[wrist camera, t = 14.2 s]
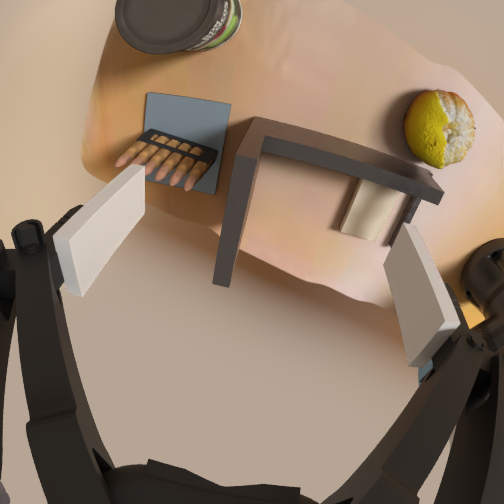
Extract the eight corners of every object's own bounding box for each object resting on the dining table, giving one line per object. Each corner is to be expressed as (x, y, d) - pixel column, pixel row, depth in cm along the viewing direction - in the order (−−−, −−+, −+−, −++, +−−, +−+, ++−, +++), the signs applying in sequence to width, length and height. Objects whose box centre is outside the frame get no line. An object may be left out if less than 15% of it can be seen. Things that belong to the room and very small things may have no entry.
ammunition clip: (147, 139, 43) (107, 171, 34) (150, 127, 42) (109, 157, 32) (214, 161, 44) (191, 200, 35) (218, 150, 43) (195, 186, 34)
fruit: (450, 172, 40) (460, 190, 34) (392, 139, 42) (392, 151, 36) (480, 110, 33) (496, 117, 27) (419, 74, 35) (425, 74, 29)
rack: (429, 170, 41) (476, 228, 28) (388, 253, 51) (411, 325, 38) (255, 116, 40) (235, 154, 27) (234, 214, 50) (212, 283, 37)
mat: (231, 104, 40) (230, 105, 39) (215, 193, 48) (214, 194, 48) (149, 92, 39) (147, 92, 39) (143, 178, 48) (141, 179, 47)
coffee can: (259, 7, 31) (243, -11, 20) (210, 64, 36) (173, 74, 25) (198, -31, 28) (156, -58, 17) (152, 26, 33) (96, 25, 22)
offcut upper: (399, 183, 42) (402, 187, 42) (373, 237, 48) (375, 241, 48) (363, 170, 42) (365, 173, 41) (339, 227, 48) (340, 231, 47)
